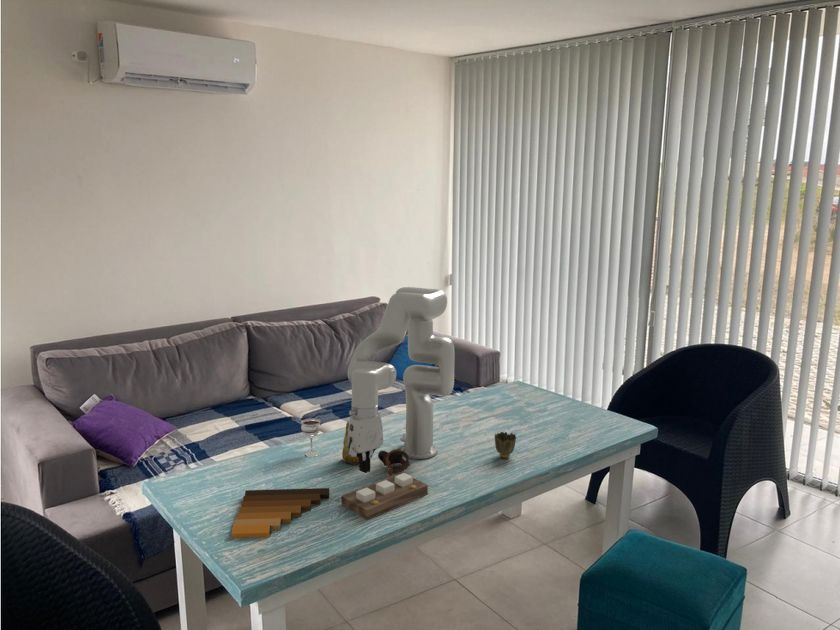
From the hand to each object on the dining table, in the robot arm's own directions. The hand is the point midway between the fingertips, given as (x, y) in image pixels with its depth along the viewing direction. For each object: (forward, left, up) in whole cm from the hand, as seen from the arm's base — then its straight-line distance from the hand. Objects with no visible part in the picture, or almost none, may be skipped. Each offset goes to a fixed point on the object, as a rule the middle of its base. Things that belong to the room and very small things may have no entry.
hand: (364, 471), depth 204 cm
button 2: (0, +16, -9) cm, 18 cm away
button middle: (0, +8, -9) cm, 12 cm away
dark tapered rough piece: (+4, +59, -12) cm, 60 cm away
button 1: (0, +1, -9) cm, 9 cm away
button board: (0, +8, -12) cm, 14 cm away
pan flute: (-13, -20, -13) cm, 27 cm away
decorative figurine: (-28, +18, -12) cm, 36 cm away
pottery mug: (-14, +24, -12) cm, 30 cm away
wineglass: (-43, +11, -12) cm, 46 cm away
